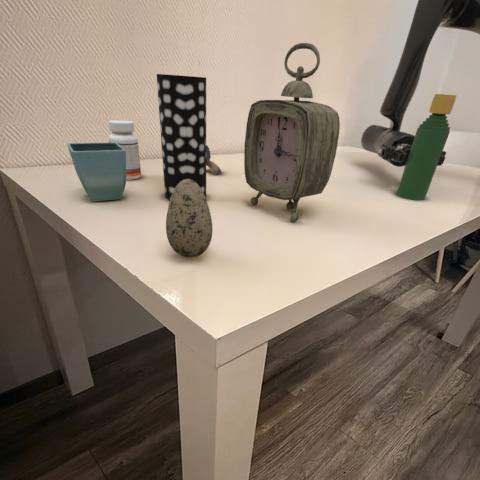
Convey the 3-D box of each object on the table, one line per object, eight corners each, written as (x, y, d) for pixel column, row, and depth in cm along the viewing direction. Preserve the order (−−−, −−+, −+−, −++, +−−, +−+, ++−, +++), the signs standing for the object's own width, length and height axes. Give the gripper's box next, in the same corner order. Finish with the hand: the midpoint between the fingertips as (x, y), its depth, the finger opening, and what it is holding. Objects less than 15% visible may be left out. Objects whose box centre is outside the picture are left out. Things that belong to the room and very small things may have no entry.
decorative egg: (191, 244, 49) (189, 171, 43) (221, 257, 46) (223, 180, 40) (158, 255, 45) (151, 177, 39) (188, 270, 42) (185, 188, 36)
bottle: (404, 191, 83) (435, 96, 71) (429, 197, 79) (467, 98, 68) (391, 194, 79) (422, 95, 68) (417, 201, 76) (454, 98, 64)
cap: (433, 112, 72) (439, 94, 70) (453, 114, 69) (460, 95, 67) (425, 112, 69) (431, 93, 68) (445, 114, 67) (452, 94, 65)
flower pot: (77, 193, 66) (66, 142, 60) (123, 190, 69) (116, 141, 64) (83, 206, 59) (71, 151, 54) (133, 202, 63) (126, 149, 58)
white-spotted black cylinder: (214, 196, 69) (215, 78, 58) (189, 205, 63) (185, 75, 52) (182, 189, 72) (178, 75, 61) (156, 197, 66) (145, 73, 55)
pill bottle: (115, 174, 80) (106, 119, 73) (141, 174, 81) (135, 120, 75) (113, 180, 75) (104, 122, 68) (141, 180, 76) (135, 123, 70)
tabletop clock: (241, 204, 66) (250, 41, 51) (273, 198, 71) (290, 47, 56) (295, 227, 57) (325, 37, 43) (327, 218, 62) (364, 46, 48)
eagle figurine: (179, 166, 85) (207, 165, 80) (185, 139, 85) (213, 136, 80) (198, 180, 92) (224, 179, 87) (203, 154, 91) (230, 152, 87)
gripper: (375, 130, 86) (396, 138, 72) (430, 134, 86) (461, 143, 72) (367, 161, 90) (386, 175, 77) (419, 165, 90) (447, 179, 77)
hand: (422, 159), depth 75 cm, fingers open, 8 cm apart
